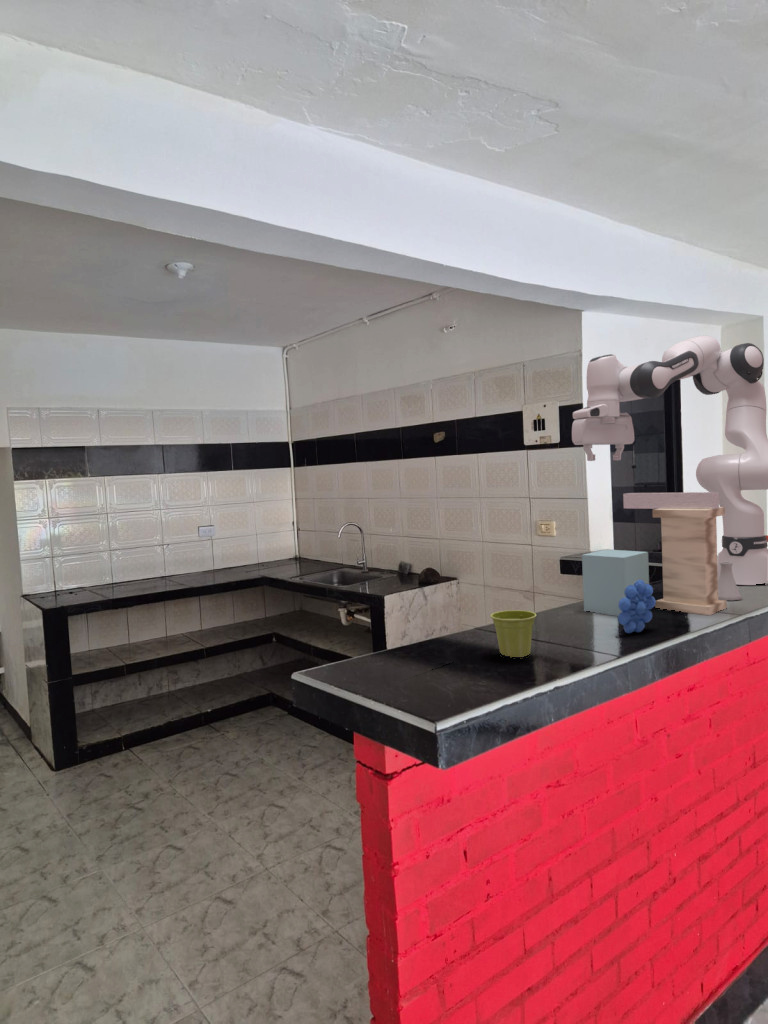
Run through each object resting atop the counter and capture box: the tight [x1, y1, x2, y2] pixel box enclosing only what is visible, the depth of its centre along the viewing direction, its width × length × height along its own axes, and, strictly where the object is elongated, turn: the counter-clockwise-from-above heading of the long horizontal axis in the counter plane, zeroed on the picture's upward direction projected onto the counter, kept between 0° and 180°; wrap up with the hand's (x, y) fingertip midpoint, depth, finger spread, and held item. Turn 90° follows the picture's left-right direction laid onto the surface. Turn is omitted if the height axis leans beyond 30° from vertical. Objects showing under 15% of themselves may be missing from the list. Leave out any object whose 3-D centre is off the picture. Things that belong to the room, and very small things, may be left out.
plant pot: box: [490, 609, 537, 658], centre depth 143 cm, size 9×9×9 cm
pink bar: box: [622, 491, 720, 510], centre depth 179 cm, size 4×24×4 cm, turn 41°
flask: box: [718, 562, 743, 601], centre depth 186 cm, size 7×7×10 cm
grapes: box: [617, 580, 657, 634], centre depth 156 cm, size 12×7×12 cm, turn 120°
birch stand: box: [652, 506, 728, 616], centre depth 176 cm, size 10×14×26 cm
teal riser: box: [581, 549, 650, 617], centre depth 179 cm, size 12×12×15 cm
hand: (604, 460), depth 196 cm, fingers open, 8 cm apart
